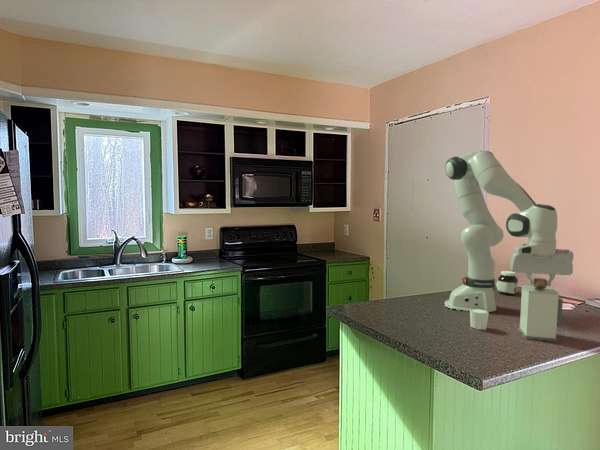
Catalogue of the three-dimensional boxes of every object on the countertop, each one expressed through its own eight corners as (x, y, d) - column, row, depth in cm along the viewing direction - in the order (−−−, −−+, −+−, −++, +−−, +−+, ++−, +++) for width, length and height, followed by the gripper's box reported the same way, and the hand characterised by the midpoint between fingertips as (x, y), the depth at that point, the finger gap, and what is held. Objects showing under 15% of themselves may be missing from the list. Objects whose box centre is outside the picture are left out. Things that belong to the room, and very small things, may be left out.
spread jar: (507, 296, 213) (508, 274, 212) (488, 291, 223) (489, 270, 222) (522, 293, 219) (523, 272, 218) (502, 289, 229) (503, 268, 228)
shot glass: (465, 326, 165) (465, 309, 165) (478, 324, 168) (479, 307, 167) (478, 332, 159) (478, 314, 158) (491, 330, 161) (492, 312, 161)
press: (525, 339, 152) (527, 291, 150) (518, 329, 162) (520, 285, 160) (564, 342, 148) (567, 293, 147) (554, 332, 158) (557, 287, 157)
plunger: (529, 333, 153) (532, 280, 151) (524, 327, 160) (526, 276, 158) (551, 335, 151) (554, 281, 149) (544, 329, 158) (547, 277, 156)
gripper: (570, 248, 153) (568, 285, 154) (509, 246, 158) (508, 281, 159) (577, 250, 147) (574, 289, 148) (513, 248, 152) (512, 285, 153)
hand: (539, 285), depth 154 cm, fingers closed on plunger, 4 cm apart
